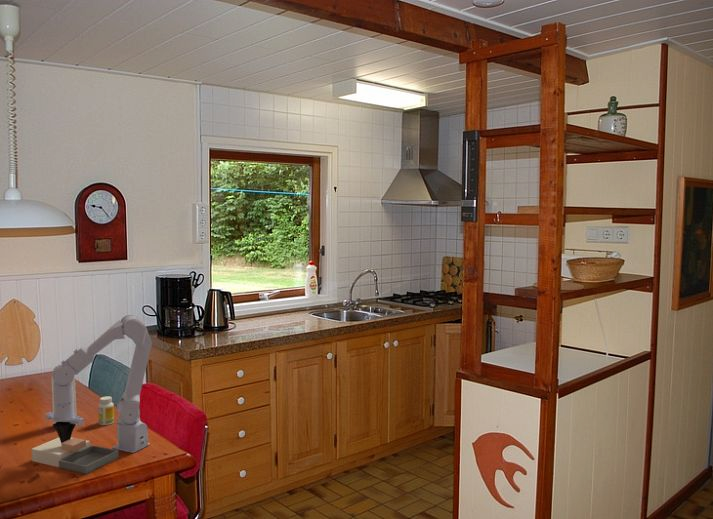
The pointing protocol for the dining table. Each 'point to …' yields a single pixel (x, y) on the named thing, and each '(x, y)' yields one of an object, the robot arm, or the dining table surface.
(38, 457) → the cream square platform
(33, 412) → the dining table surface
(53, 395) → the milk
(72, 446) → the block
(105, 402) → the supplement bottle
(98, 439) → the dining table surface
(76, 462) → the tray
